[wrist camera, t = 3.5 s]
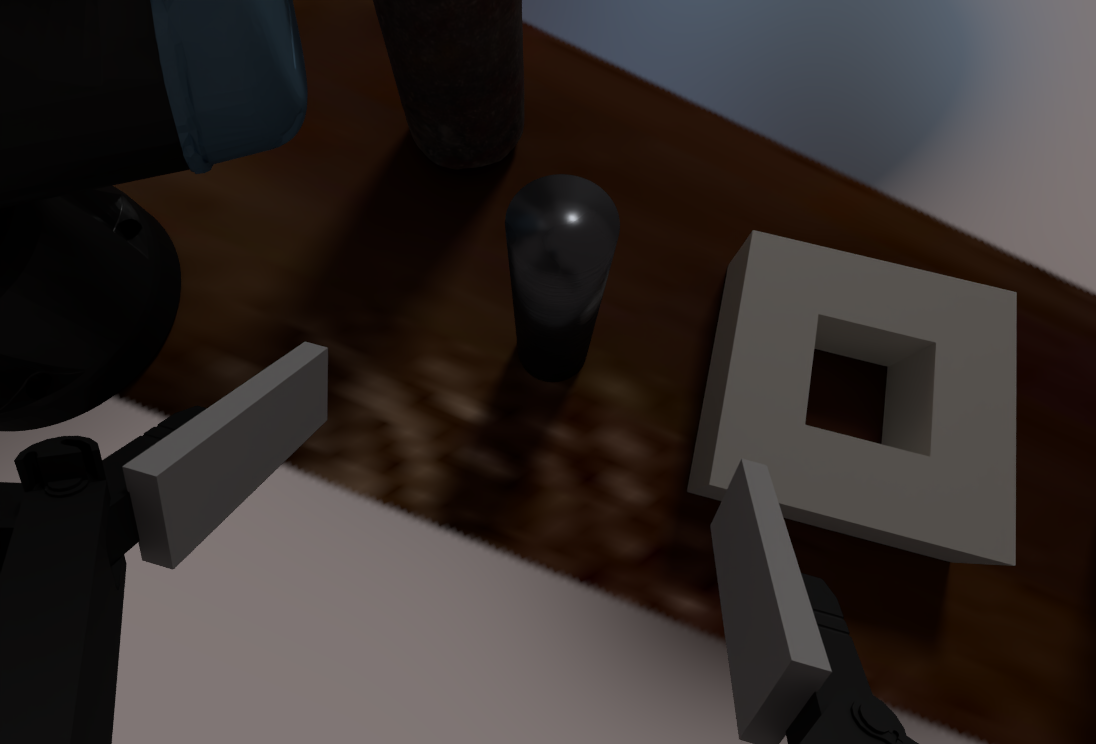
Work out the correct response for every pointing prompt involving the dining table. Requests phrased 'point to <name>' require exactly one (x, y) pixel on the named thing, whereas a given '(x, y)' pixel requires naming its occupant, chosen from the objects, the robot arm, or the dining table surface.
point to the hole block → (910, 400)
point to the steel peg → (558, 270)
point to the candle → (458, 75)
